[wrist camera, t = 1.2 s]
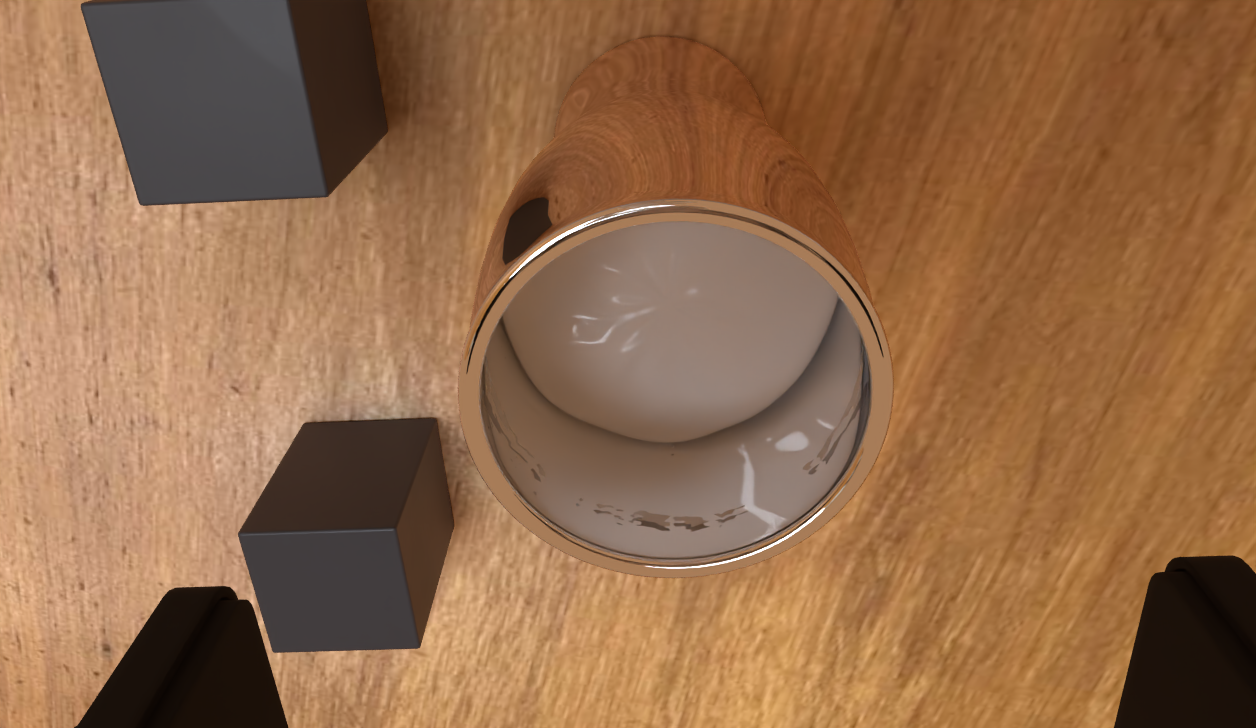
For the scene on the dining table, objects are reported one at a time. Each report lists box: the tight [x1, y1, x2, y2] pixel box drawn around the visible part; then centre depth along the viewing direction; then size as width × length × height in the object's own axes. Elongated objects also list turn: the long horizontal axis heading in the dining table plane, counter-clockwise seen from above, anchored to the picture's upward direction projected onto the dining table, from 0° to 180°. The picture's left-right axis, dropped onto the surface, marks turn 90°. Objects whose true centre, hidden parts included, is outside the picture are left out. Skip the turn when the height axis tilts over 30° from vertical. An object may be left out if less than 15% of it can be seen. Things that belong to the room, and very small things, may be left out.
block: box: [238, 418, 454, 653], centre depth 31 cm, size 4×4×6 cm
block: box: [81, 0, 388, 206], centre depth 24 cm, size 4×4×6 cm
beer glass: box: [458, 36, 894, 578], centre depth 21 cm, size 7×7×15 cm
